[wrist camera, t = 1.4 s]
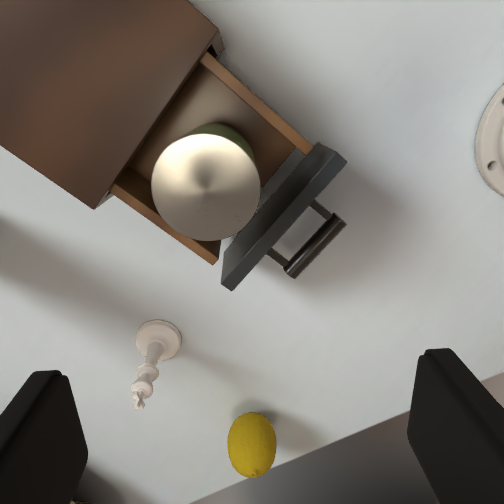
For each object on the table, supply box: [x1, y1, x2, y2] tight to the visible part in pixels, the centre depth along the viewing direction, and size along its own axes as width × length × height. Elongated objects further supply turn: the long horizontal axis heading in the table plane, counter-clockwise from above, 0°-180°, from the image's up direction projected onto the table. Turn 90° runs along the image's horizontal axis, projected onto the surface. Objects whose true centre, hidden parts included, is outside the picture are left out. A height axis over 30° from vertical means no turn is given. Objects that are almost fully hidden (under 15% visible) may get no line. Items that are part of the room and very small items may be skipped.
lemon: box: [228, 412, 276, 478], centre depth 43 cm, size 6×6×8 cm
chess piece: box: [131, 320, 181, 409], centre depth 37 cm, size 5×5×10 cm
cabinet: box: [0, 0, 224, 210], centre depth 27 cm, size 15×15×9 cm
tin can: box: [151, 122, 261, 241], centre depth 27 cm, size 6×6×12 cm
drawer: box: [109, 51, 347, 291], centre depth 31 cm, size 18×14×7 cm
